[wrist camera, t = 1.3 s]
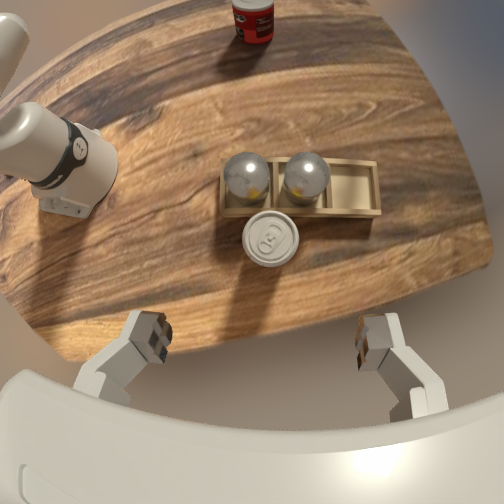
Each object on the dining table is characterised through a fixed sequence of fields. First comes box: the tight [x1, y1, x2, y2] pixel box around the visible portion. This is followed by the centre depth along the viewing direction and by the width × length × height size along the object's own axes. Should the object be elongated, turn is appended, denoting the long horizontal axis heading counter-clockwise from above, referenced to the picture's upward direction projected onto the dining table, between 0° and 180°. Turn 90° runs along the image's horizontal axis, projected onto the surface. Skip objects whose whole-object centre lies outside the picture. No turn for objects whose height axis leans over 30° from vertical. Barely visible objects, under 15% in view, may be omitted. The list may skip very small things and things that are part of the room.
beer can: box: [242, 210, 299, 267], centre depth 36 cm, size 6×6×15 cm
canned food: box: [232, 0, 274, 45], centre depth 40 cm, size 8×8×11 cm
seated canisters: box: [223, 152, 330, 206], centre depth 38 cm, size 14×6×7 cm, turn 90°
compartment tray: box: [219, 157, 381, 218], centre depth 42 cm, size 25×9×4 cm, turn 90°
